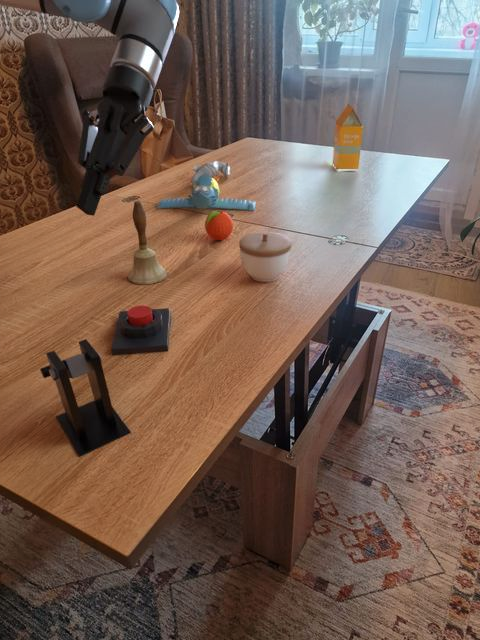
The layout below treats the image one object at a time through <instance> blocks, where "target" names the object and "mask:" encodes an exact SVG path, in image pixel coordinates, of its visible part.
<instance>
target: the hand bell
mask: <svg viewBox="0 0 480 640" xmlns="http://www.w3.org/2000/svg"><path fill="white" fill-rule="evenodd" d="M132 209H133V210H132V220H133V225H134V227H135V229H136V231H137V232H136V233H137V239H138V249H137V250H136V251H134V252H133V265H132V268H131V270H130V271H129V273H128V275H127V279H128V281H129V282H130V283H132V284H136V285H152V284H158V283H159V282H162V281H164V280H165V279H166V278H167V276H168V271H167V270H166V269H165V267H162V266H161V264H160V263H159V260H158V258H157V254H156V251H155V250H154V249H151V248H149V246H148V241H147V240H148V239H147V233H146V231H147V215H146V211H145V208H144V206H143V204H142V202H141V200H136V201H133V208H132Z"/></svg>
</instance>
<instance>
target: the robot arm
mask: <svg viewBox="0 0 480 640" xmlns="http://www.w3.org/2000/svg"><path fill="white" fill-rule="evenodd" d="M0 6H1V7H2V6H3V7H7V8H8V7H9V8H14V9H19V10H23V11H30V12H35V13H41V14H45V15H49V16H55V17H60V18H65V19H70V20H72V21H74V22H78V23H84V24H95V25H96V26H98V27H100V28H102V29H104V30H105V31H107V32H109V33H110V34H111V35H113V36H115V37H117V38H119V39H118V43H117V46H116V48H115V51H114V53H113V56H112V59H111V60H110V64H109V68H108V70H107V72H106V75H105V78H104V81H103V83H102V98H101V100H100V101H99V102H98V103H97V105H96V109H94V110H92V111H90V112H89V110H87V109H84V110H82V111H81V119H82V127H81V136H80V143H79V150H78V157H77V164H78V165H80V166H81V167H82V168H83V169H85V171H84V175H83V178H82V180H81V183H80V189H81V191H80V194H79V197H78V200H77V203H76V206H75V207H76V208H77V209H78V210H80V211H81V212H83V214H85V215H87V216H92V217H93V216H94V217H95V214H96V212H97V209H98V206H99V203H100V200H101V197H102V196H105V194H106V193H107V189H108V187H109V184H110V181H111V179H113V177H116V176H118V177H123V176H124V175H125V174H126V171H127V170H128V168H129V166H130V164H131V163H132V161H133V159H134V158H135V156H136V154H137V152H138V151H139V149H140V148H141V146H142V145H143V142H144V141H145V139H146V138H147V137H148V136H149V135H150V134H151V133H152V132H153V131H154V130H155V126H154V124H153V123H152V122H151V121H150V119H149V118H148V116H147V115H146V112H147V111H148V109H149V106H150V103H151V100H152V98H153V95H154V90H155V88H156V86H157V82H158V80H159V78H160V74H161V71H162V68H163V65H164V63H165V60H166V58H167V54H168V52H169V49H170V46H171V44H172V41H173V39H174V35H175V34H176V27H177V23H178V20H179V17H180V9H179V4H178V1H177V0H0Z"/></svg>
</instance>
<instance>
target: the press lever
mask: <svg viewBox="0 0 480 640" xmlns="http://www.w3.org/2000/svg"><path fill="white" fill-rule="evenodd" d="M61 361H62V362H63V364H64V365H65V367H66V369H67V372H68V375H69V378H70V379H76V378H79V377H81V376H85V375H87V373H89V372H90V369H89V367H88V364H87V362H86V359H85V357H84V354H82V353H77V354H75V355H72V356H68V357H67V358H63V359H61ZM50 369H51V367H50V364H49V365H46V366H44V367H41V368H40V369H39V371H40V373H41V376H42V378H43V379H46V378H50V377H51V375H50V372H49V370H50Z"/></svg>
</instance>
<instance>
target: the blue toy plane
mask: <svg viewBox="0 0 480 640" xmlns="http://www.w3.org/2000/svg"><path fill="white" fill-rule="evenodd" d="M219 180H220V177H219V176H218V177H217V175H216V176H214V177H213V178H211V176H210V175H209V176H208V175H207V174H206V175H202V176H200V177H198V179H197V180H196V181H193V182H195V183H194V185H193V184H192V185H191V187H190V193H191V194H188V195H187V196H186V197H185V198H184V197H180V198H179V197H176V198H171V199H170V198H167V199H165V198H163V199H161V201H160V202H158V204H157V207H156V209H157V210H162V209H196V208H197V209H200V210H203V209H206V208H209V209H225V210H240V211H249V212H255V210H256V209H255V208H256V201H255V200H252V201H251V200H246V199H240V198H238V199H236V198H233V199H232V198H227V197H225V198H222V197H219V196H220V192H221V191H220V187H219Z"/></svg>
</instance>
